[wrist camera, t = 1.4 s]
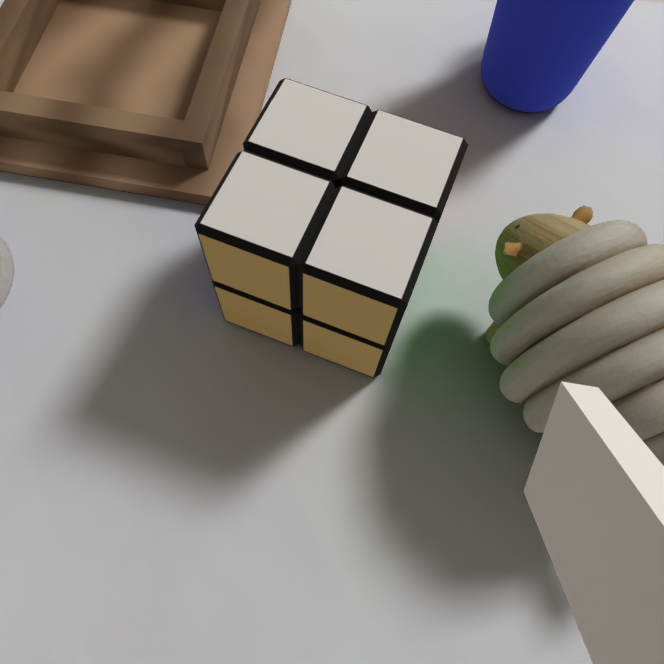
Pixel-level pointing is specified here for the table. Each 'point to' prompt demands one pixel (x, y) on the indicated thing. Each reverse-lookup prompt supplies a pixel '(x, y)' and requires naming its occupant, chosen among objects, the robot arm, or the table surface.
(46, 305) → the table surface
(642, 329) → the toy sheep
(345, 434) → the table surface
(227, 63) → the docking cradle
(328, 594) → the table surface
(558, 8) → the mug
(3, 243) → the white pitcher
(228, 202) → the puzzle cube
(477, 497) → the table surface
